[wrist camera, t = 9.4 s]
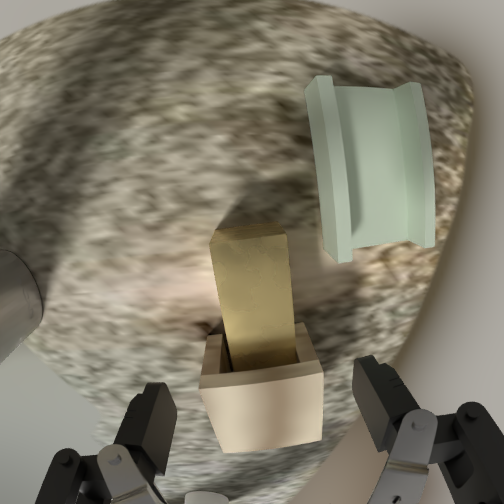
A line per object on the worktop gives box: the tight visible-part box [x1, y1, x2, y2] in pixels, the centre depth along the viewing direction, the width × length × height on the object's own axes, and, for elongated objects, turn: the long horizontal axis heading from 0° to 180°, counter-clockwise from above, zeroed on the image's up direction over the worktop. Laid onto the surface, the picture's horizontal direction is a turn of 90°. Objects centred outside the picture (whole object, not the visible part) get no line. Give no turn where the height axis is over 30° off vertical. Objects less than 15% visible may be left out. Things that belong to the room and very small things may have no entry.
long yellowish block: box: [209, 221, 297, 372], centre depth 21 cm, size 4×18×4 cm, turn 7°
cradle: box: [304, 76, 435, 263], centre depth 18 cm, size 8×12×4 cm, turn 8°
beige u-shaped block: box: [199, 322, 324, 453], centre depth 21 cm, size 8×8×7 cm
